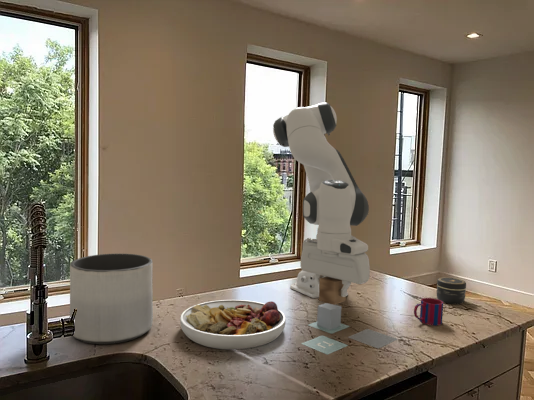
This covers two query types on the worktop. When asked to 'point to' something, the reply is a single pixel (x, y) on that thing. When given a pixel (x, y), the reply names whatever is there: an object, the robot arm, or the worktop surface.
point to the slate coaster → (372, 338)
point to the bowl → (232, 323)
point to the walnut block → (330, 290)
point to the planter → (111, 297)
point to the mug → (430, 311)
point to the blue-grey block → (329, 316)
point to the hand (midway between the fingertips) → (332, 293)
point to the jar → (451, 290)
